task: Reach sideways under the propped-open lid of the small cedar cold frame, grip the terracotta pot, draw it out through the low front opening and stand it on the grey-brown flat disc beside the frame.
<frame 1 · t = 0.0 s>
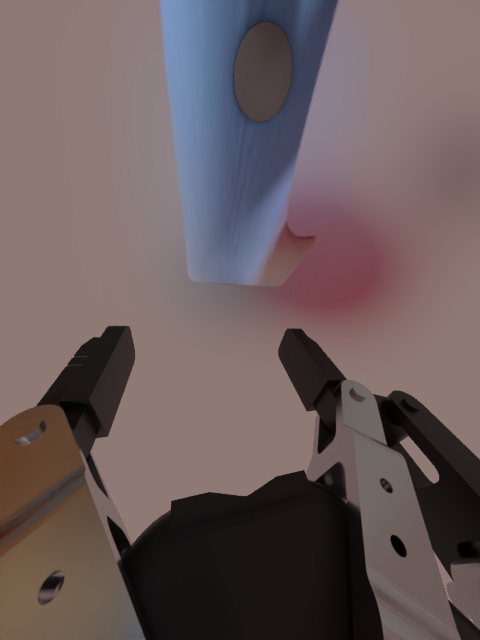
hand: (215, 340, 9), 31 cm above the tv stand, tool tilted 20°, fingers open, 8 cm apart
grey-brown flat disc: (261, 78, 22), on the tv stand
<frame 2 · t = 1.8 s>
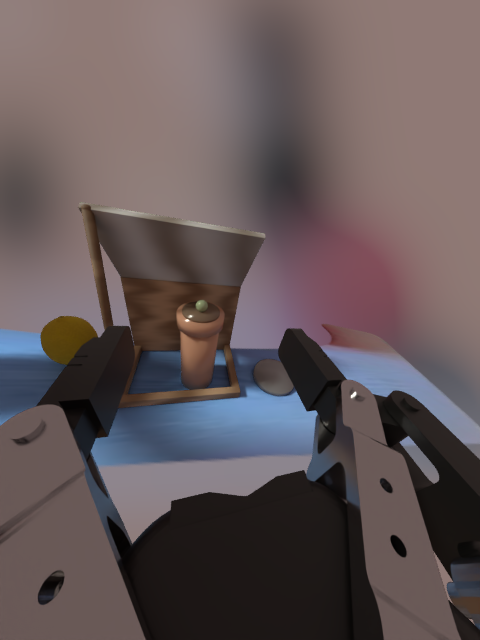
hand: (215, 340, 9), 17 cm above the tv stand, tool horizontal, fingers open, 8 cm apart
pot: (197, 377, 28), resting in cold frame
lemon: (81, 362, 27), on the tv stand
grey-brown flat disc: (273, 377, 30), on the tv stand
cold frame: (183, 370, 28), on the tv stand
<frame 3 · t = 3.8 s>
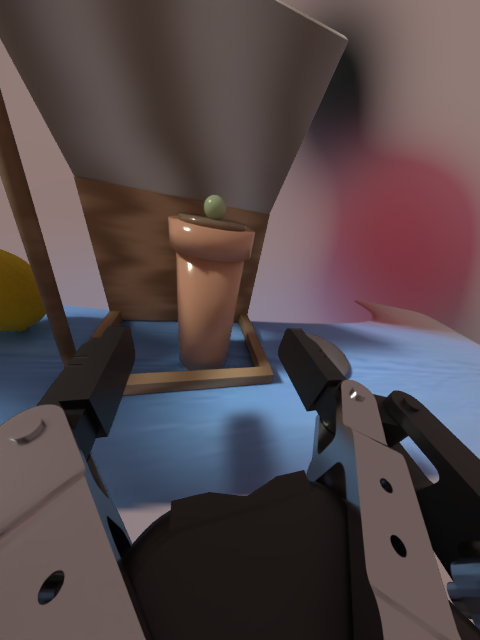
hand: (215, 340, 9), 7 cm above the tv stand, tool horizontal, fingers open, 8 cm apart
pot: (203, 354, 18), resting in cold frame
lemon: (24, 332, 17), on the tv stand
grey-brown flat disc: (314, 357, 21), on the tv stand
cold frame: (183, 345, 19), on the tv stand
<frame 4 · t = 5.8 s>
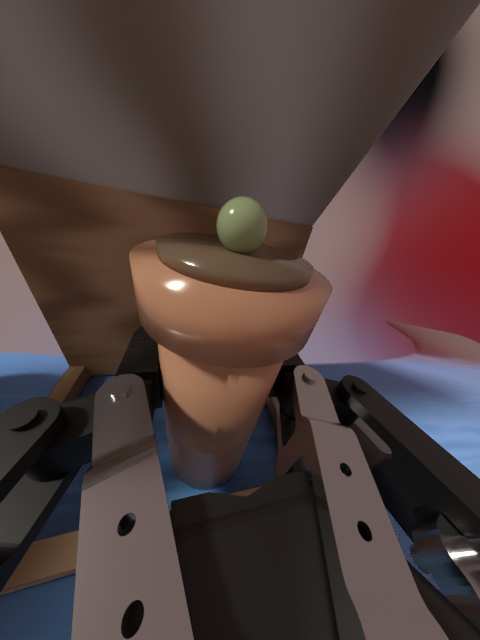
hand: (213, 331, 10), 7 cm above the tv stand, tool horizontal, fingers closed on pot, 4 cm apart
pot: (207, 441, 12), resting in cold frame, touching gripper
grey-brown flat disc: (366, 430, 14), on the tv stand
cold frame: (178, 422, 12), on the tv stand
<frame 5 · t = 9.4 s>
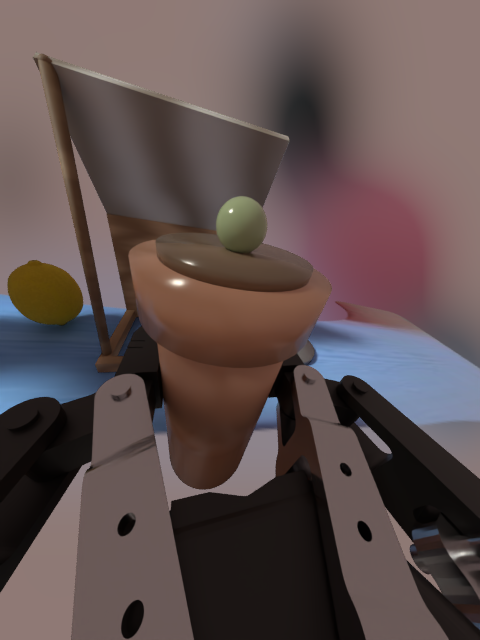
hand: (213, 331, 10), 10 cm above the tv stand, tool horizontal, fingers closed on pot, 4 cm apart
pot: (208, 441, 12), point 3 cm above the tv stand, touching gripper
lemon: (63, 325, 22), on the tv stand
grey-brown flat disc: (288, 347, 26), on the tv stand
cold frame: (184, 336, 24), on the tv stand
when the fingers open (9 cm above the tv stand, at t = 13.0 s): pot drops 1 cm, resting on grey-brown flat disc.
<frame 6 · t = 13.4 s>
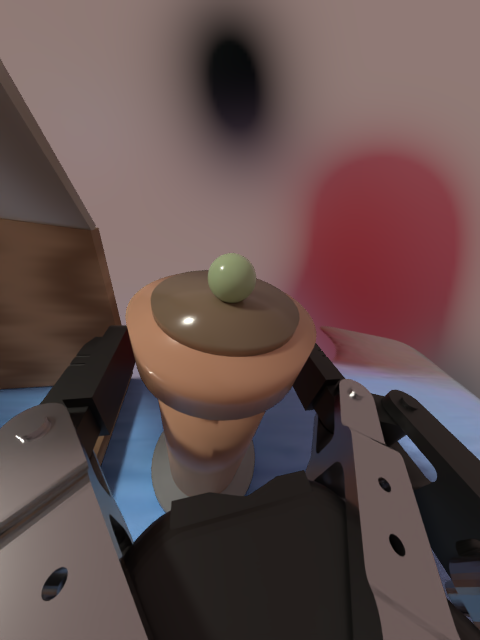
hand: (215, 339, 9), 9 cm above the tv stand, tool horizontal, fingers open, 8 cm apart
pot: (206, 451, 12), point 1 cm above the tv stand, touching grey-brown flat disc
grey-brown flat disc: (205, 455, 13), on the tv stand
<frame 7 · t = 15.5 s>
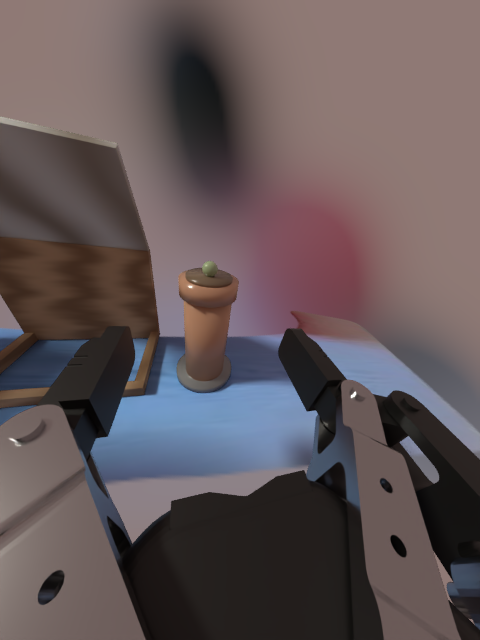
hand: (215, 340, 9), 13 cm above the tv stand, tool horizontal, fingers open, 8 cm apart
pot: (204, 366, 23), point 1 cm above the tv stand, touching grey-brown flat disc
grey-brown flat disc: (204, 369, 24), on the tv stand
cold frame: (83, 361, 22), on the tv stand
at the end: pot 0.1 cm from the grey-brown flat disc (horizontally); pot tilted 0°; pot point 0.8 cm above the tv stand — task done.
